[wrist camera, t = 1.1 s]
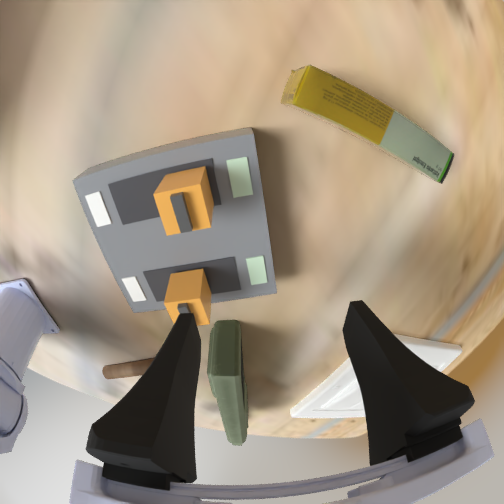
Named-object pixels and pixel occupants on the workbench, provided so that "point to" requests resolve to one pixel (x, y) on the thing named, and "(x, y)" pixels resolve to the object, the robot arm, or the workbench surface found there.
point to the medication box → (366, 120)
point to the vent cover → (347, 388)
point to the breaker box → (189, 243)
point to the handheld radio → (229, 378)
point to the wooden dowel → (126, 369)
